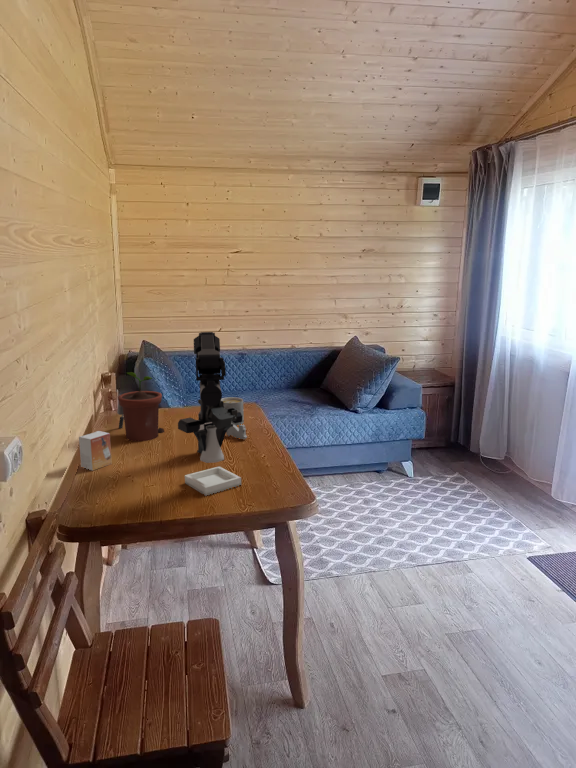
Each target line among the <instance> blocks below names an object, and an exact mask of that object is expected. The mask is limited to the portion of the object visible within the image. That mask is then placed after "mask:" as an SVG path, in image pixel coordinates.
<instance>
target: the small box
mask: <svg viewBox="0 0 576 768" xmlns="http://www.w3.org/2000/svg"><path fill="white" fill-rule="evenodd" d="M78 441H79V443H78V444H79V455H80V457H79V458H80V468H81V467H84V468H86V469H85V470H88V469H89V471H95V470H97V469H101V468H103V467H107V466H109V465H112V463H113V462H112V461H113V460H112V449H111V445H112V444H111V434H110V433H109V432H105V431H101V430H96V431H94V432H91V433H87V434H84V435H81V436H79V437H78ZM84 468H83V469H84Z"/></svg>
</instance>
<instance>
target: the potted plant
mask: <svg viewBox="0 0 576 768" xmlns="http://www.w3.org/2000/svg"><path fill="white" fill-rule="evenodd" d="M126 374H127V375H129V376H131V377H133V378H135V379H137V380H138V381H139V383H138V384H139V386H138V389H139V390H138V391H137V390H136V391H129V392H125V393H122V394H119V395H118V396H117V400H118V405H117V414H118V415H120V416H119V421H118V422H119V423H118V429H120V428H122V429H123V425H124V428H125V436H126V440H128V439H129V440H128V441H131V440H132V442H147V441H151V440H152V441H153V440H155V439H157V438H158V437H159V434H163V433H165V429H164V428H163V427H159V414H160V413H159V412H160V411H159V407H160V406H159V404H161V403H162V398H163V395H162V393H161V392H158V391H151V390H141V384H142V382H144V381H150V380H152V379H153V377H151V376H149V375H147V376H143V379H140V378H139V377H137V374H136V373H134V372H132V371H130V372H126Z"/></svg>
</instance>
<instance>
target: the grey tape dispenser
mask: <svg viewBox="0 0 576 768" xmlns="http://www.w3.org/2000/svg"><path fill="white" fill-rule="evenodd" d="M231 424H232V423H231ZM246 431H247V429H246V425H245V424H243V425H242V424H241V425H239V427H237V426H236V425H234V424H233V426H232V427H230V428H229V429H228V430H227V432H226V434H225V436H227V435H228V436H227V437H230V435H231V436H232V437H233V438H235V437H236V438H235V439H237V438H240V439H243V440H247V438H248V435H247V432H246Z"/></svg>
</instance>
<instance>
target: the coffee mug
mask: <svg viewBox="0 0 576 768" xmlns="http://www.w3.org/2000/svg"><path fill="white" fill-rule="evenodd" d="M221 401H223V404H224V409H229V408H236V409H237V411H238V412H241V414H242V415H243V422H239V423H233V422H232V424H234V425H236V426H237V425H240V424H243V423H244V421H245V420H244V418H245V417H244V398H242V397H235V396H234V397H232V396H231V397H222V399H221ZM243 425H244V424H243Z"/></svg>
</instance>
